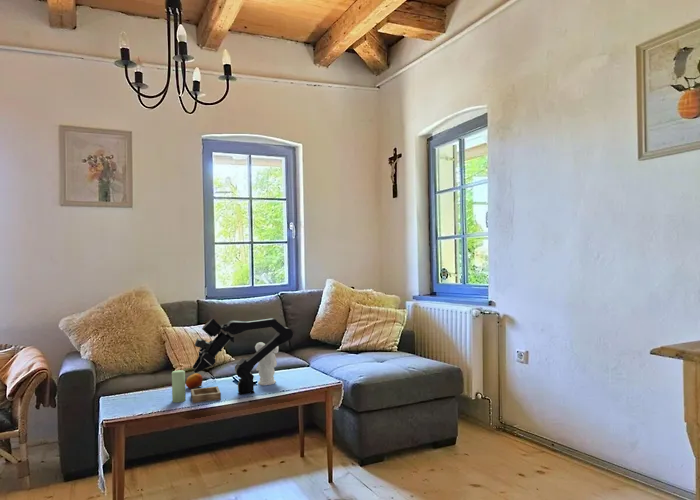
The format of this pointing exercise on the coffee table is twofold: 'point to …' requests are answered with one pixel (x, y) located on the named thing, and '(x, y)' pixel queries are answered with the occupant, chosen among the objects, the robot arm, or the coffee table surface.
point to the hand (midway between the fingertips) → (194, 370)
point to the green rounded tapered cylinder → (178, 386)
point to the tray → (205, 394)
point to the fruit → (194, 381)
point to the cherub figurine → (267, 366)
